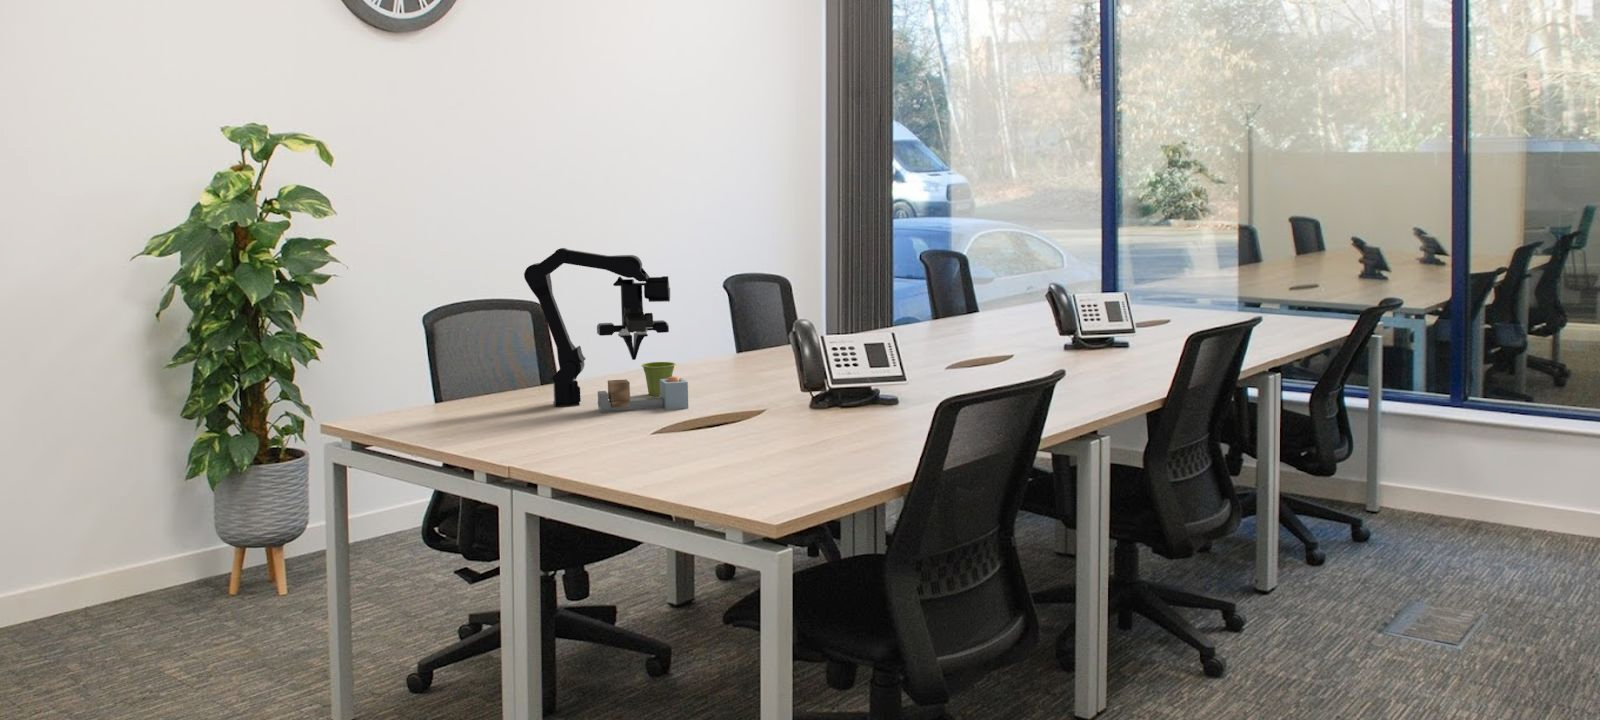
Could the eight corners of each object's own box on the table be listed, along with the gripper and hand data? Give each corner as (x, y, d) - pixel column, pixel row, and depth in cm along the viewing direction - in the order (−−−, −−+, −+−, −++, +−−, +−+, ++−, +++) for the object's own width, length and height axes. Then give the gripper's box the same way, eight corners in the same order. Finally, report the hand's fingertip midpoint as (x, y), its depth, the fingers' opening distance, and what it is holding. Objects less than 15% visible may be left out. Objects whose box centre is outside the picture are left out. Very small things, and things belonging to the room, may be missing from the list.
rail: (601, 412, 359) (600, 394, 359) (598, 409, 364) (597, 391, 363) (668, 408, 364) (668, 389, 364) (665, 405, 369) (664, 387, 368)
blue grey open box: (666, 409, 363) (665, 383, 362) (660, 404, 370) (659, 379, 369) (688, 408, 364) (687, 382, 363) (682, 403, 372) (681, 377, 371)
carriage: (611, 407, 360) (610, 383, 359) (608, 404, 365) (607, 380, 364) (630, 406, 361) (629, 382, 360) (627, 403, 366) (626, 379, 365)
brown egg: (669, 391, 365) (669, 378, 364) (667, 390, 368) (666, 376, 367) (680, 391, 366) (680, 377, 365) (678, 389, 369) (677, 376, 368)
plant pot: (674, 397, 383) (673, 366, 381) (640, 397, 383) (639, 366, 382) (678, 391, 392) (677, 361, 391) (645, 392, 392) (644, 362, 391)
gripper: (601, 306, 359) (603, 365, 361) (671, 303, 364) (673, 361, 367) (595, 302, 370) (597, 360, 372) (663, 299, 375) (665, 356, 377)
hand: (633, 359), depth 372 cm, fingers closed
